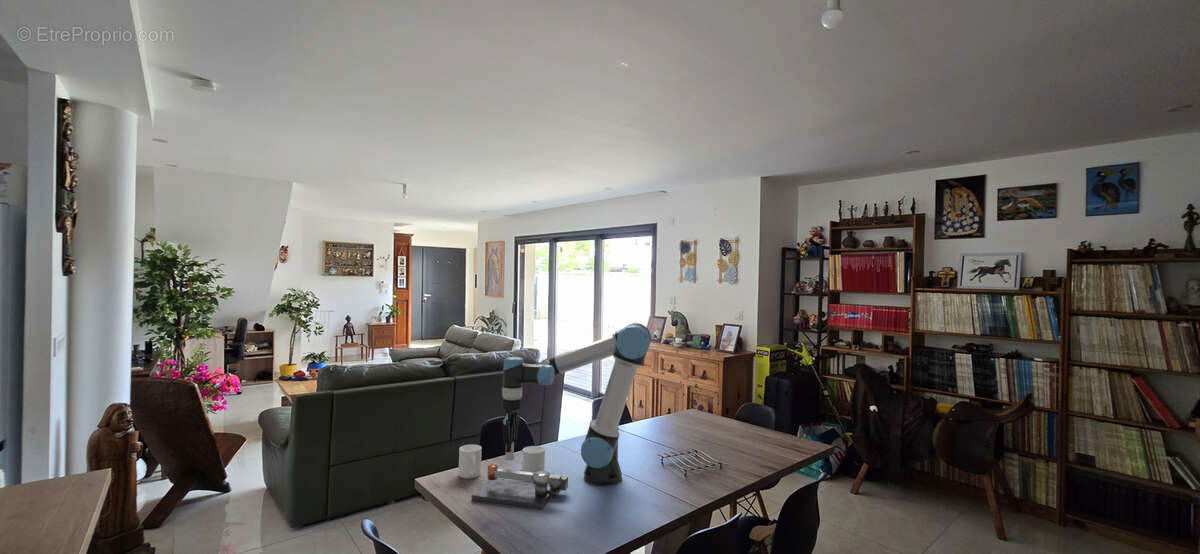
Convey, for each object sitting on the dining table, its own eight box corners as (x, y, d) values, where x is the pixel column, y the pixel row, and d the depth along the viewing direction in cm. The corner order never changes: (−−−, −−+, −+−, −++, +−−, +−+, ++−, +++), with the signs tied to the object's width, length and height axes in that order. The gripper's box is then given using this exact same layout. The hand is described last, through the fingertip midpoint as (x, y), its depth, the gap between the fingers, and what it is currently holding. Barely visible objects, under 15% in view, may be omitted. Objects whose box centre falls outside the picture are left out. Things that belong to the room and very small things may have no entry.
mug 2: (548, 473, 200) (549, 450, 200) (529, 478, 194) (530, 454, 195) (532, 464, 209) (533, 442, 210) (514, 469, 204) (514, 446, 204)
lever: (562, 483, 177) (562, 471, 177) (557, 489, 171) (557, 477, 171) (491, 474, 183) (491, 462, 183) (484, 480, 178) (484, 468, 178)
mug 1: (462, 483, 188) (463, 455, 188) (456, 472, 198) (457, 446, 199) (485, 480, 192) (486, 452, 192) (477, 469, 202) (478, 443, 203)
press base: (567, 492, 182) (567, 476, 182) (553, 511, 166) (554, 493, 166) (491, 483, 189) (492, 467, 189) (471, 500, 173) (472, 483, 173)
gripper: (509, 393, 196) (507, 452, 195) (495, 400, 183) (492, 464, 183) (527, 395, 194) (524, 455, 194) (514, 402, 181) (511, 466, 181)
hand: (509, 459), depth 188 cm, fingers closed
